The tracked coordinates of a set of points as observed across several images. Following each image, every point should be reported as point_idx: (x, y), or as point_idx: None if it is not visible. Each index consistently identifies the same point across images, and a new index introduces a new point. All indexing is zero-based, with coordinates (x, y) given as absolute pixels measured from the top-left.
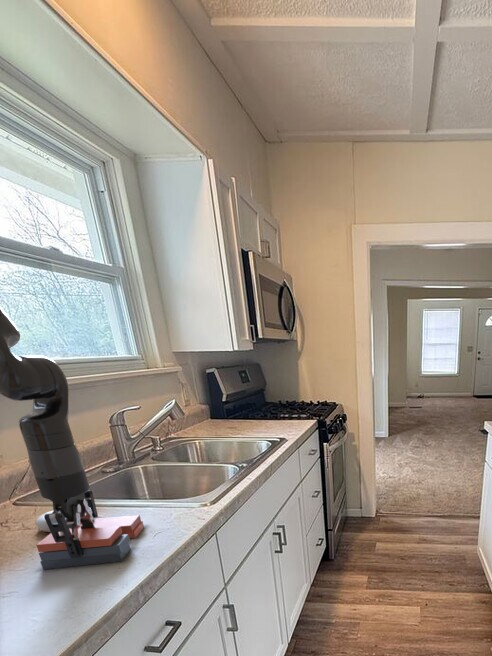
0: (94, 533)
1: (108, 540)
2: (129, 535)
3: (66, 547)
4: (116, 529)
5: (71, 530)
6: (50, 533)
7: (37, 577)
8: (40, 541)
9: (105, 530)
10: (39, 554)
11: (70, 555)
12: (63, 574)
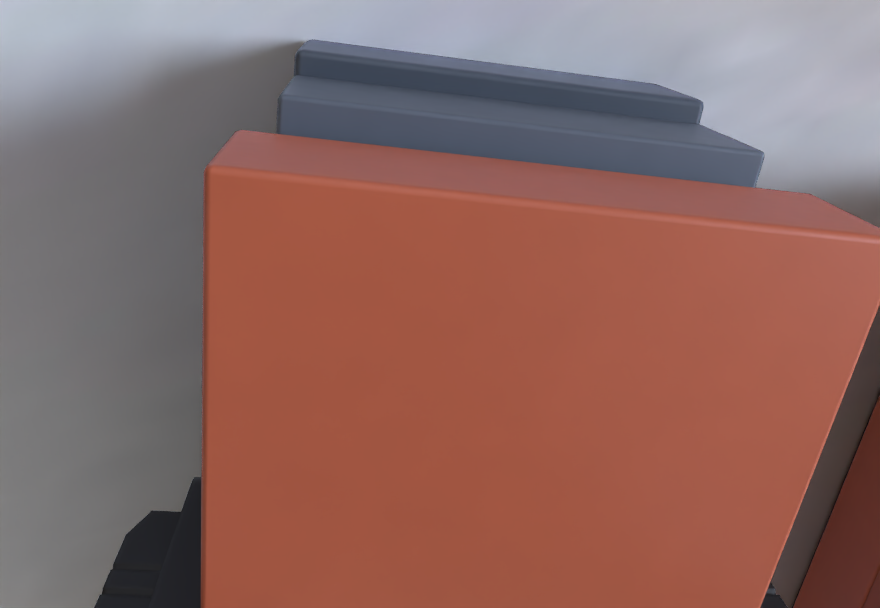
0: None
1: None
2: None
3: (159, 582)
4: None
5: (753, 545)
6: (789, 241)
7: (91, 46)
8: (390, 189)
9: None
10: (282, 97)
11: (137, 531)
12: (109, 320)
